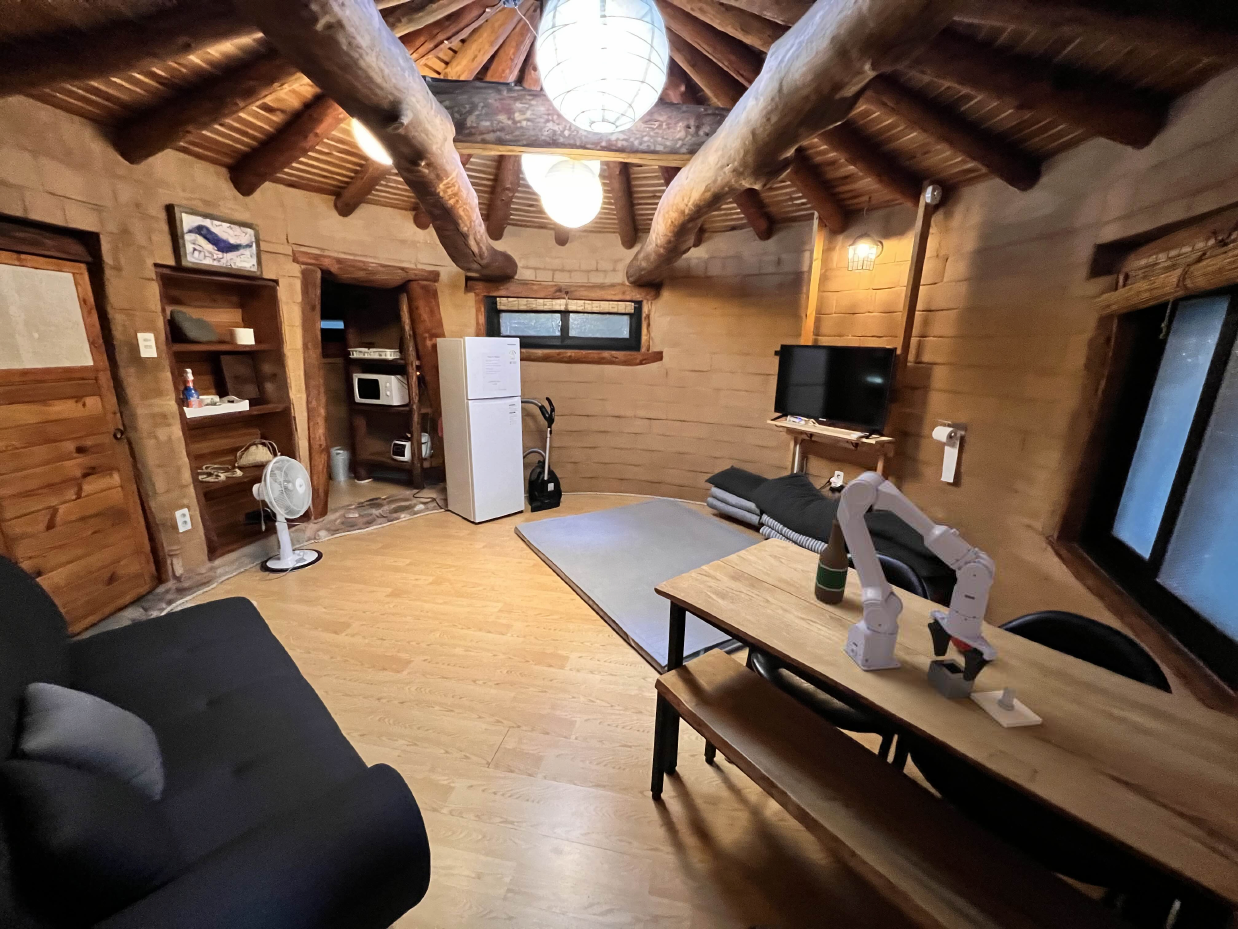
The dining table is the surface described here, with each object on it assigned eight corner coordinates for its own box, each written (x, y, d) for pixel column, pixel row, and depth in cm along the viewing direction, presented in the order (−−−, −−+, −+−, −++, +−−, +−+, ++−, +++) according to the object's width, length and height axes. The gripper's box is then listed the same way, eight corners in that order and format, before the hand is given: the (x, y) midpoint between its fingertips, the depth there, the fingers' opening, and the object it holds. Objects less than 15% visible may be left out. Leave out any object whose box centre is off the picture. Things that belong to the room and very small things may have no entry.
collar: (946, 698, 98) (951, 678, 97) (926, 680, 104) (930, 660, 102) (970, 696, 99) (975, 676, 98) (949, 678, 104) (953, 658, 103)
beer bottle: (844, 596, 137) (857, 519, 131) (840, 608, 131) (853, 528, 125) (816, 588, 141) (827, 513, 135) (811, 600, 135) (822, 521, 129)
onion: (981, 660, 110) (988, 630, 108) (953, 657, 112) (960, 627, 109) (968, 645, 116) (975, 616, 114) (942, 642, 117) (949, 613, 115)
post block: (1005, 727, 91) (1011, 706, 90) (970, 697, 99) (975, 677, 98) (1041, 723, 92) (1047, 702, 91) (1003, 694, 100) (1009, 674, 99)
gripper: (1017, 630, 90) (1001, 690, 94) (955, 591, 104) (943, 644, 107) (984, 632, 89) (969, 693, 93) (926, 592, 103) (915, 646, 106)
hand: (953, 667), depth 100 cm, fingers open, 7 cm apart
